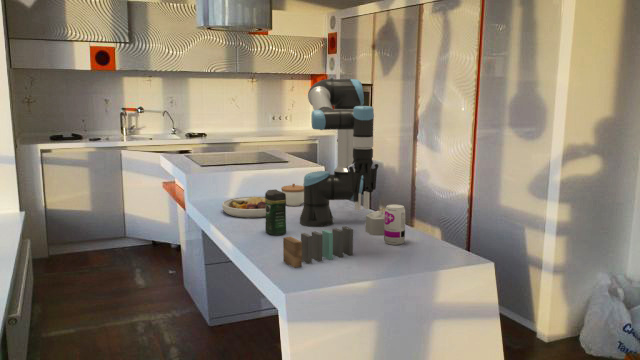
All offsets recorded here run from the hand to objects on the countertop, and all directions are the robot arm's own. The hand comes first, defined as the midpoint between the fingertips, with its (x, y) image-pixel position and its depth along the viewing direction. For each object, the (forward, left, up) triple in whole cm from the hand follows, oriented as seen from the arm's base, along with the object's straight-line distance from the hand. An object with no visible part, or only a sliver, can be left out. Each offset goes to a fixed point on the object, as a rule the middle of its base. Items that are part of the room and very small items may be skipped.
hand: (362, 209), depth 231 cm
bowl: (+7, -82, -17) cm, 84 cm away
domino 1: (+25, 0, -17) cm, 30 cm away
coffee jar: (+16, -41, -17) cm, 47 cm away
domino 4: (+11, 0, -17) cm, 20 cm away
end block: (+30, 0, -17) cm, 35 cm away
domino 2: (+20, 0, -17) cm, 26 cm away
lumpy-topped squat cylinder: (-24, -19, -17) cm, 35 cm away
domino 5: (+7, 0, -17) cm, 18 cm away
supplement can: (-18, -3, -17) cm, 25 cm away
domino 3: (+16, 0, -17) cm, 23 cm away
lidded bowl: (-18, -86, -17) cm, 90 cm away
